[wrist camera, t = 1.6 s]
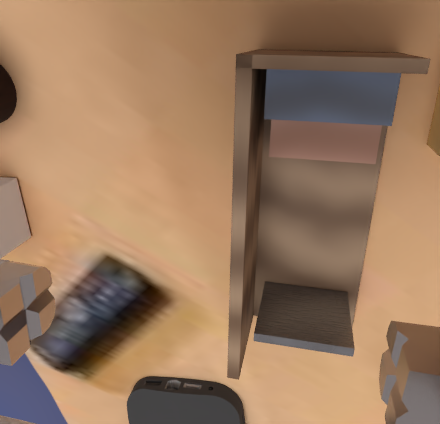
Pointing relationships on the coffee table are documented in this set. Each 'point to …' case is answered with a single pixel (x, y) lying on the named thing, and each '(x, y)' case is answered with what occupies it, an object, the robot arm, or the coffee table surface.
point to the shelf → (305, 172)
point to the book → (435, 127)
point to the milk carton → (11, 216)
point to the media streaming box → (183, 402)
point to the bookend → (305, 318)
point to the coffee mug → (6, 95)
